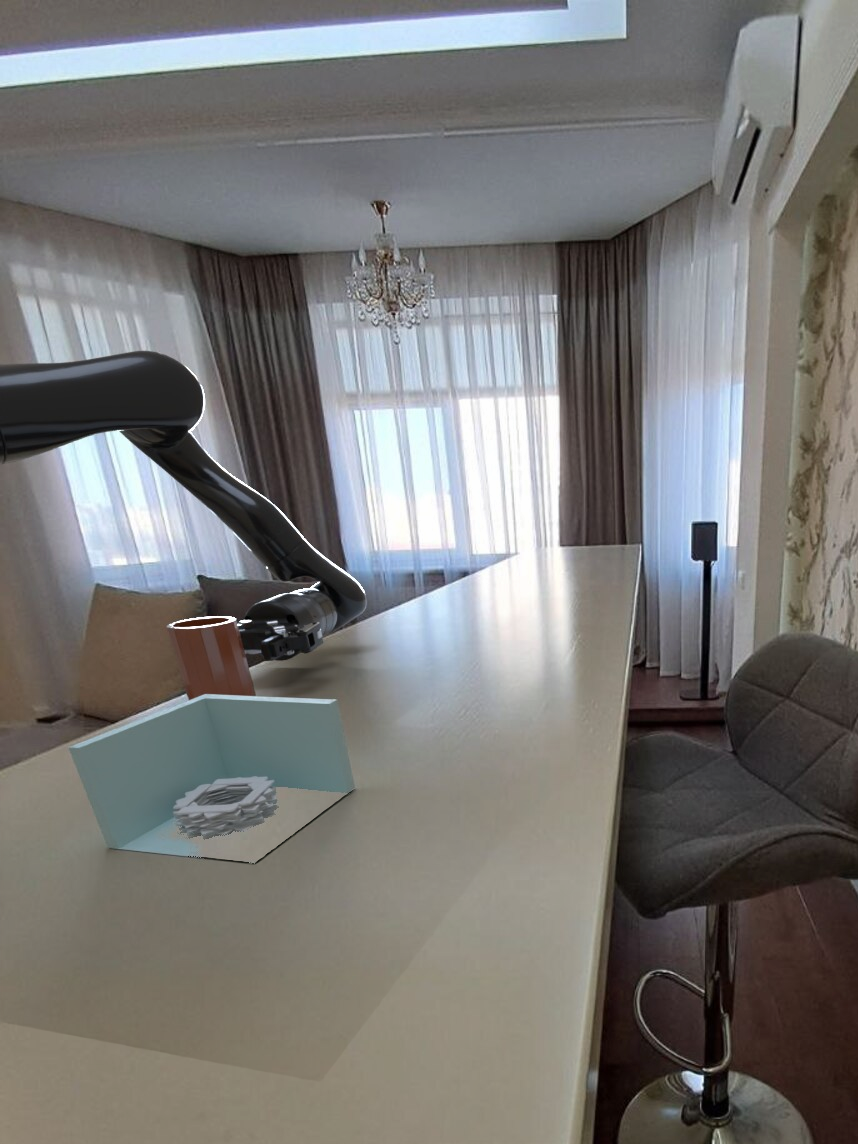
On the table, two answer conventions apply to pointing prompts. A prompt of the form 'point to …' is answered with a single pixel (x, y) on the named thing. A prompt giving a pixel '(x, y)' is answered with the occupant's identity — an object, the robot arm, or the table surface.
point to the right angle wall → (209, 767)
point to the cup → (211, 657)
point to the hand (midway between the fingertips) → (227, 653)
